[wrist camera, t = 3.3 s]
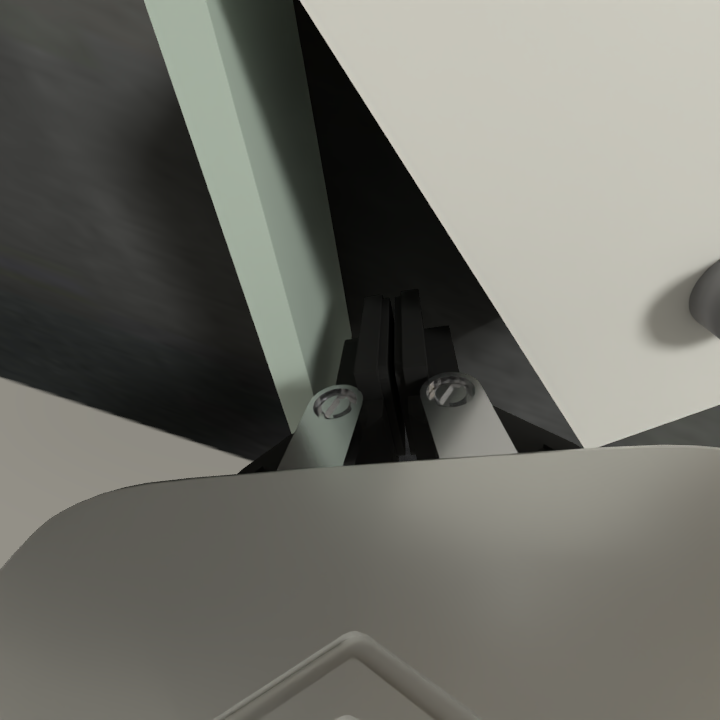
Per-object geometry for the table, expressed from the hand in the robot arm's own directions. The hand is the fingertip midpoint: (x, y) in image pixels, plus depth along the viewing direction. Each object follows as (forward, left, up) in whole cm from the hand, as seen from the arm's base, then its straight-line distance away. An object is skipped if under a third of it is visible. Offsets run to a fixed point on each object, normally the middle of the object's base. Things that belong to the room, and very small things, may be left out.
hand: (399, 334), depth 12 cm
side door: (+5, +1, -4) cm, 7 cm away
